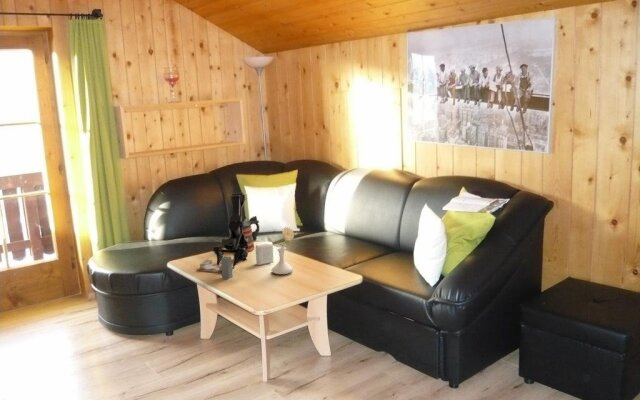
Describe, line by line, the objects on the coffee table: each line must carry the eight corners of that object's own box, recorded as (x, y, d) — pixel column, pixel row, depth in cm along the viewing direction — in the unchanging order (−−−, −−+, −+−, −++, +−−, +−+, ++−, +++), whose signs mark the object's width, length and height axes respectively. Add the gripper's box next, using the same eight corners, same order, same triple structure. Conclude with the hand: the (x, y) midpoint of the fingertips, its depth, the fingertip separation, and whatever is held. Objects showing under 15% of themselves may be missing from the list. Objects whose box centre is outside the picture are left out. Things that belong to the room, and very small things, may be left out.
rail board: (196, 271, 327) (196, 263, 326) (206, 265, 336) (205, 258, 335) (225, 273, 321) (225, 266, 320) (234, 268, 330) (234, 261, 329)
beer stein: (254, 243, 377) (252, 212, 373) (264, 249, 365) (263, 217, 360) (226, 248, 368) (224, 217, 363) (235, 254, 355) (233, 222, 351)
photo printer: (271, 260, 342) (270, 239, 339) (274, 262, 338) (273, 241, 336) (255, 264, 336) (254, 242, 334) (258, 265, 333) (257, 244, 330)
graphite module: (225, 276, 317) (224, 256, 315) (232, 276, 316) (231, 256, 313) (222, 278, 313) (220, 258, 311) (228, 279, 312) (227, 259, 310)
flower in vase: (276, 277, 312) (274, 231, 307) (268, 271, 322) (266, 227, 317) (299, 273, 318) (297, 228, 313) (290, 267, 328) (288, 223, 323)
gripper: (212, 231, 317) (203, 257, 309) (244, 233, 310) (235, 259, 302) (221, 241, 325) (212, 267, 318) (251, 243, 319) (243, 269, 311)
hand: (225, 265), depth 312 cm, fingers open, 9 cm apart
